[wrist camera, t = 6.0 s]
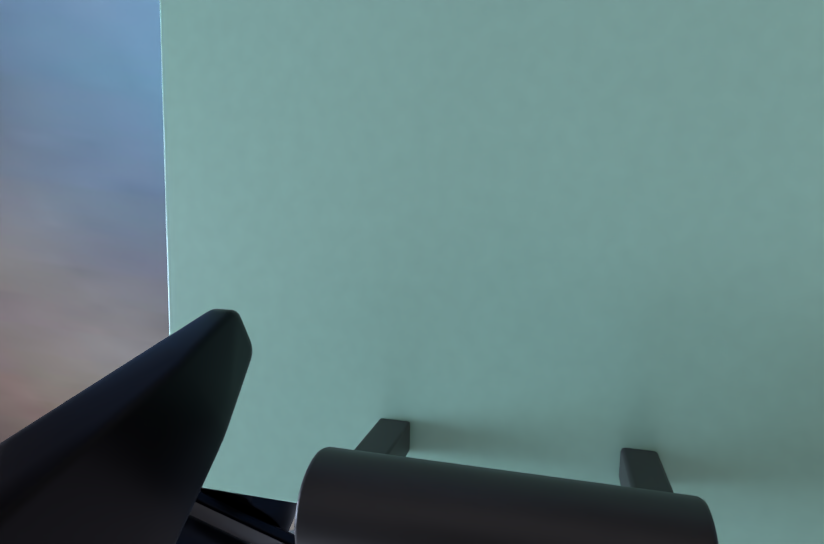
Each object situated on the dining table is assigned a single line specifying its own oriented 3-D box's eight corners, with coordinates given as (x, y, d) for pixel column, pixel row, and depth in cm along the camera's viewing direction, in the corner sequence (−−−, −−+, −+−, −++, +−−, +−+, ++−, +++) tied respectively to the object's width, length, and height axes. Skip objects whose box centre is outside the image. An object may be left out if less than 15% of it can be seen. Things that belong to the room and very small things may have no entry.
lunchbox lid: (945, 589, 11) (1229, 865, 6) (190, 471, 15) (27, 588, 10) (1045, -100, 9) (1509, -393, 5) (177, -25, 13) (-20, -144, 9)
